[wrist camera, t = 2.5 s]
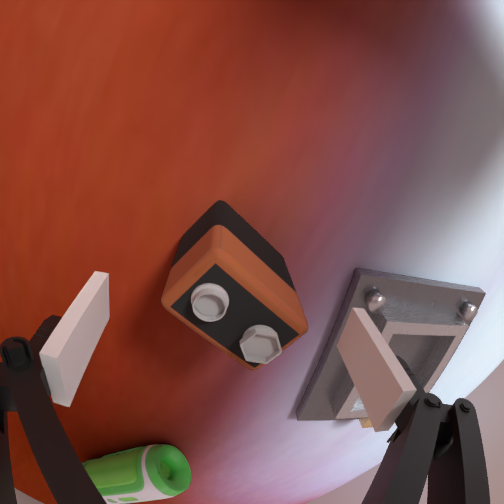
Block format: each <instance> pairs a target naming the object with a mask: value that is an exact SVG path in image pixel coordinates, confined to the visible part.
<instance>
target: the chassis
mask: <svg viewBox="0 0 504 504" xmlns="http://www.w3.org/2000/svg"><path fill="white" fill-rule="evenodd" d="M485 294H486V293H485V292H484V291H483V290H482V289H480V288H478V287H472V286H465V285H459V284H453V283H447V282H441V281H435V280H428V279H422V278H416V277H410V276H404V275H397V274H391V273H385V272H379V271H372V270H366V269H360V268H356V269H355V272H354V275H353V278H352V281H351V283H350V286H349V289H348V291H347V294H346V297H345V299H344V302H343V305H342V307H341V310H340V312H339V315H338V318H337V320H336V323H335V325H334V328H333V330H332V332H331V335H330V337H329V340H328V342H327V345H326V347H325V349H324V352H323V354H322V356H321V359H320V361H319V363H318V366H317V368H316V370H315V372H314V375H313V377H312V379H311V381H310V383H309V386H308V388H307V390H306V392H305V394H304V396H303V398H302V401H301V403H300V405H299V407H298V409H297V411H296V415H297V420H347V419H359V421H360V423H361V426H362V428H368V427H373V426H372V423H371V421H370V419H369V416H368V414H367V412H366V410H365V407H364V405H363V403H362V401H361V398H360V396H359V394H358V392H357V390H356V387H355V385H354V383H353V381H352V378H351V376H350V374H349V372H348V370H347V368H346V365H345V363H344V361H343V359H342V357H341V355H340V352H339V350H338V348H337V344H338V341H339V339H340V337H341V334H342V332H343V329H344V327H345V324H346V322H347V320H348V317H349V315H350V312H351V309H352V307H353V308H363V309H365V311H366V312H367V314H368V315H369V317H370V318H371V320H372V321H373V323H374V324H375V326H376V327H377V329H378V330H379V332H380V333H381V335H382V336H383V338H384V339H385V341H386V342H387V344H388V345H389V347H390V348H391V350H392V352H393V353H394V355H395V356H400V357H401V358H402V359H403V360H404V361H405V362H406V363H407V365H408V366H409V368H410V370H411V371H412V372H413V374H414V375H415V377H416V378H417V380H418V381H419V383H420V385H421V386H422V388H423V389H424V391H425V392H426V393H429V391H430V390H431V389H432V387H433V386H434V384H435V383H436V381H437V380H438V378H439V377H440V375H441V374H442V372H443V370H444V369H445V367H446V366H447V364H448V362H449V361H450V359H451V358H452V356H453V354H454V353H455V351H456V349H457V347H458V346H459V344H460V342H461V340H462V339H463V337H464V335H465V333H466V331H467V330H468V328H469V326H470V324H471V322H472V320H473V318H474V317H475V316H476V314H477V311H478V309H479V307H480V304H481V302H482V300H483V298H484V296H485Z"/></svg>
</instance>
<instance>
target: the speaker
mask: <svg viewBox="0 0 504 504" xmlns="http://www.w3.org/2000/svg"><path fill="white" fill-rule="evenodd" d="M82 465H83V467H84V468H85V470H86V472H87V473H88V475H89V477H90V478H91V480H92V481H93V483H94V485H95V486H96V488H97V489H98V491H99V492H100V494H101V495H102V497H103V498H104V500H105V501H106V503H107V504H125V503H136V502H144V501H152V500H159V499H166V498H170V497H173V496H176V495H178V494H180V493H182V492H183V491H185V490H186V489H187V488H188V487H189V485H190V483H191V470H190V467H189V464H188V462H187V460H186V458H185V456H184V455H183V454H182V453H181V451H180V450H178V449H177V448H176V447H174V446H172V445H166V444H154V445H147V446H144V447H136V448H133V449H129V450H125V451H121V452H117V453H113V454H109V455H106V456H103V457H101V458H98V459H92V460H88V461H86V462H84V463H82Z"/></svg>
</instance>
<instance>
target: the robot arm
mask: <svg viewBox="0 0 504 504" xmlns="http://www.w3.org/2000/svg"><path fill="white" fill-rule="evenodd" d="M109 318H110V315H109V273H104V272H98V271H95V272H94V273H93V275H92V276H91V277H90V279H89V280H88V282H87V283H86V284H85V286H84V287H83V288H82V290H81V291H80V293H79V294H78V295H77V297H76V298H75V300H74V301H73V303H72V304H71V305H70V307H69V308H68V310H67V311H66V313H65V314H64V316H63V317H59V316H55V315H52V316H50V317H49V318H47V319H45V320H44V321H43V323H42V324H41V326H40V327H39V329H38V330H37V331H36V333H35V334H34V335H33V337H32V338H31V340H30V341H28V340H26V339H25V338H22V337H11V338H8V339H6V340H5V341H4V342H2V344H1V346H0V354H1V357H2V360H3V362H0V504H17V501H16V495H15V490H14V483H13V477H12V469H11V461H10V451H9V440H8V423H7V411H17V412H18V414H19V417H20V420H21V423H22V425H23V428H24V431H25V433H26V436H27V439H28V441H29V444H30V446H31V449H32V451H33V453H34V456H35V458H36V460H37V463H38V465H39V467H40V469H41V472H42V474H43V476H44V478H45V480H46V482H47V484H48V486H49V488H50V490H51V492H52V494H53V496H54V498H55V500H56V501H57V503H58V504H107V503H106V501H105V500H104V498H103V497H102V495H101V494H100V492H99V491H98V489H97V488H96V486H95V485H94V483H93V481H92V480H91V478H90V477H89V475H88V473H87V472H86V470H85V468H84V467H83V465H82V463H81V461H80V460H79V458H78V456H77V454H76V452H75V451H74V449H73V447H72V445H71V443H70V441H69V439H68V437H67V435H66V433H65V431H64V429H63V427H62V425H61V423H60V421H59V419H58V417H57V415H56V412H55V410H54V408H53V406H52V403H51V401H50V399H49V396H50V394H51V397H52V400H53V402H54V403H57V404H60V405H64V406H67V407H70V405H71V403H72V400H73V398H74V395H75V393H76V390H77V388H78V386H79V383H80V381H81V379H82V376H83V374H84V372H85V369H86V367H87V365H88V363H89V360H90V358H91V356H92V354H93V352H94V349H95V347H96V345H97V343H98V341H99V339H100V337H101V334H102V332H103V330H104V328H105V326H106V324H107V322H108V320H109ZM337 348H338V350H339V352H340V355H341V357H342V359H343V361H344V363H345V365H346V368H347V370H348V372H349V374H350V376H351V378H352V381H353V383H354V385H355V387H356V390H357V392H358V394H359V396H360V398H361V401H362V403H363V405H364V407H365V410H366V412H367V414H368V416H369V419H370V421H371V423H372V426H373V428H374V430H375V432H379V431H387V430H389V429H390V428H391V426H392V425H393V424H394V422H395V423H396V425H397V427H398V428H397V429H396V430H395V432H394V433H393V434H392V435H391V437H390V438H389V439H388V441H387V442H388V443H389V441H390V440H391V441H390V444H389V446H388V448H387V451H386V453H385V455H384V458H383V460H382V462H381V465H380V467H379V469H378V471H377V473H376V475H375V478H374V480H373V482H372V484H371V486H370V488H369V490H368V492H367V494H366V496H365V498H364V500H363V502H362V504H418V503H419V501H420V498H421V495H422V492H423V488H424V485H425V482H426V478H427V475H428V497H427V504H490V496H489V485H488V477H487V469H486V462H485V456H484V450H483V444H482V439H481V433H480V428H479V424H478V419H477V415H476V410H475V407H474V406H473V404H472V403H471V402H470V401H468V400H466V399H464V398H459V399H457V400H456V401H455V402H454V404H453V405H447V404H442V402H441V400H440V399H439V398H438V397H437V396H436V395H434V394H431V393H426V392H425V391H424V389H423V388H422V386H421V385H420V383H419V381H418V380H417V378H416V377H415V375H414V374H413V372H412V371H411V370H410V368H409V366H408V365H407V363H406V362H405V361H404V360H403V359H402V358H401V357H400V356H395V355H394V353H393V352H392V350H391V348H390V347H389V345H388V344H387V342H386V341H385V339H384V338H383V336H382V335H381V333H380V332H379V330H378V329H377V327H376V326H375V324H374V323H373V321H372V320H371V318H370V317H369V315H368V314H367V312H366V311H365V309H363V308H353V307H352V309H351V312H350V315H349V317H348V320H347V322H346V324H345V327H344V329H343V332H342V334H341V337H340V339H339V341H338V344H337Z"/></svg>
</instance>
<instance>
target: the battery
mask: <svg viewBox="0 0 504 504" xmlns="http://www.w3.org/2000/svg"><path fill="white" fill-rule="evenodd" d="M161 304H162V306H163V307H164V308H165V309H166V310H167V311H168V312H170V313H171V314H172V315H173V316H175V317H176V318H177V319H179V320H180V321H181V322H183V323H184V324H185V325H187V326H188V327H189V328H191V329H192V330H193V331H195V332H196V333H197V334H199V335H200V336H202V337H203V338H204V339H206V340H207V341H209V342H210V343H211V344H213V345H214V346H216V347H217V348H218V349H220V350H221V351H223V352H224V353H226V354H227V355H228V356H230V357H231V358H233V359H234V360H236V361H237V362H239V363H240V364H242V365H243V366H245V367H246V368H248V369H250V370H256V369H258V368H260V367H261V366H262V365H264V364H268V363H269V362H271V361H272V360H273V359H275V358H276V357H277V356H279V355H280V354H281V353H282V351H283V350H284V349H285V348H287V347H288V346H289V345H291V344H292V343H293V342H294V341H296V340H297V339H298V338H300V337H301V336H302V335H303V334H305V333H306V332H307V330H308V323H307V320H306V317H305V315H304V312H303V309H302V307H301V304H300V301H299V298H298V296H297V293H296V290H295V288H294V285H293V282H292V280H291V277H290V274H289V272H288V269H287V266H286V264H285V261H284V259H283V257H282V256H281V255H280V254H279V253H278V252H277V251H276V250H275V249H274V248H273V247H272V246H271V245H270V244H269V243H268V242H267V241H266V240H265V239H264V238H263V237H262V236H261V235H260V234H259V233H258V232H257V231H255V230H254V229H253V228H252V227H251V226H250V225H249V224H248V223H247V222H246V221H245V220H244V219H243V218H242V217H241V216H240V215H239V214H238V213H237V212H236V211H234V210H233V209H232V208H231V207H230V206H229V205H228V204H227V203H226V202H224V201H221V200H220V201H217V202H216V203H215V204H214V205H213V206H212V207H211V208H210V209H209V210H208V211H207V212H206V213H205V214H204V215H203V216H202V217H201V218H200V219H199V220H198V221H197V222H196V223H195V224H194V225H193V226H192V227H191V228H190V229H189V230H188V231H187V232H186V233H185V234H184V235H183V236H182V238H181V241H180V244H179V247H178V249H177V252H176V255H175V258H174V261H173V264H172V267H171V270H170V273H169V276H168V279H167V282H166V285H165V288H164V291H163V294H162V297H161Z"/></svg>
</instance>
